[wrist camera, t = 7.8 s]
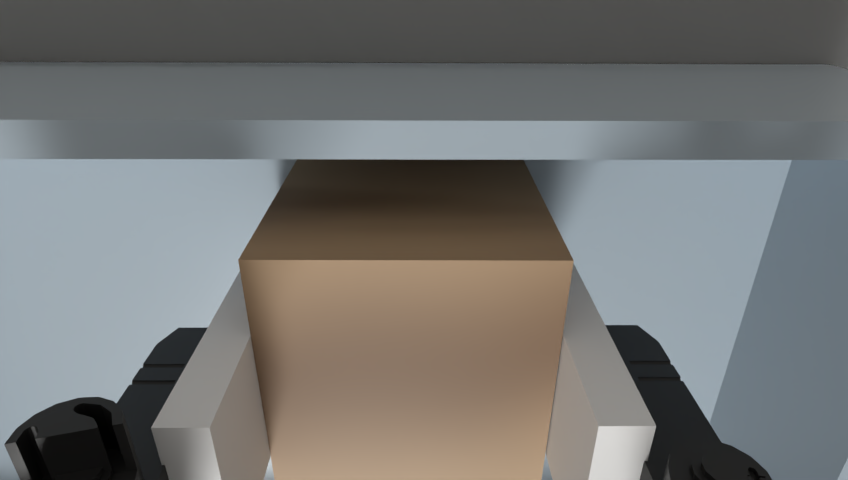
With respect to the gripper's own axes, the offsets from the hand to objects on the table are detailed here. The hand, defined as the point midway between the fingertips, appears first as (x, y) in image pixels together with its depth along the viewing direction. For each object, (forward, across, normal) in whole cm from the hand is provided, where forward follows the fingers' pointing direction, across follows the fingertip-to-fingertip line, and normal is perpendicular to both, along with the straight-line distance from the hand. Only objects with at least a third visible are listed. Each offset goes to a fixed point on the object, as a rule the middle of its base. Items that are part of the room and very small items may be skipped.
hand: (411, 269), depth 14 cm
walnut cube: (+1, 0, 0) cm, 1 cm away
